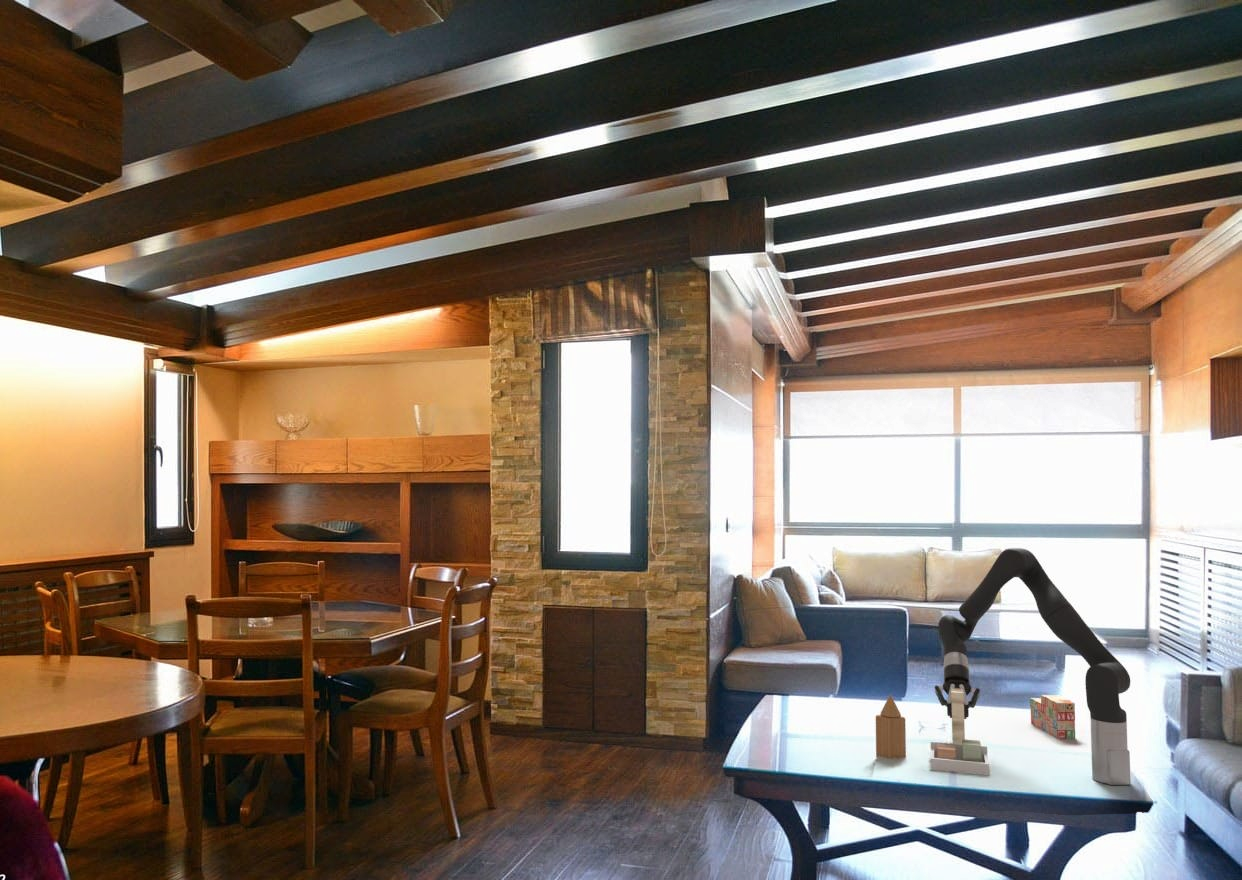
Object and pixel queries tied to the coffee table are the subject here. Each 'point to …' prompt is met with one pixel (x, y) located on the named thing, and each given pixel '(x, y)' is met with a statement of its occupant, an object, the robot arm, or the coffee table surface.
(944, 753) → the offcut short
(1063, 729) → the stack of blocks
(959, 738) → the birch board
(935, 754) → the white tray
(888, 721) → the decorative item
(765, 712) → the coffee table surface
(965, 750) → the offcut tall
